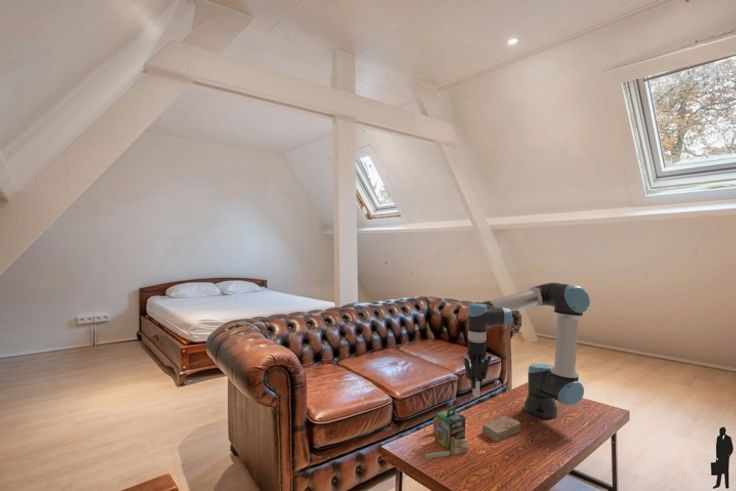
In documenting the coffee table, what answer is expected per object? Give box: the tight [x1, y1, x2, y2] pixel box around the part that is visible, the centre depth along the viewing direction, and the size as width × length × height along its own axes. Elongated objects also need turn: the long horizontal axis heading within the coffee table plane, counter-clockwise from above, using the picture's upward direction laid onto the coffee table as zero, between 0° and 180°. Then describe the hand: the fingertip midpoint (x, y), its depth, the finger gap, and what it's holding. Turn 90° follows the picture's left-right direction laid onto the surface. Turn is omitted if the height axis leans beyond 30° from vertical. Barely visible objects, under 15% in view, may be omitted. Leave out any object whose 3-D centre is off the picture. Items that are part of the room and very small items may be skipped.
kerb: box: [424, 450, 451, 459], centre depth 144 cm, size 10×1×1 cm, turn 105°
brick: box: [481, 415, 521, 442], centre depth 162 cm, size 17×8×5 cm, turn 122°
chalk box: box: [434, 406, 466, 451], centre depth 154 cm, size 9×9×15 cm
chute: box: [432, 417, 469, 456], centre depth 154 cm, size 7×17×6 cm, turn 15°
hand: (476, 395), depth 157 cm, fingers closed
